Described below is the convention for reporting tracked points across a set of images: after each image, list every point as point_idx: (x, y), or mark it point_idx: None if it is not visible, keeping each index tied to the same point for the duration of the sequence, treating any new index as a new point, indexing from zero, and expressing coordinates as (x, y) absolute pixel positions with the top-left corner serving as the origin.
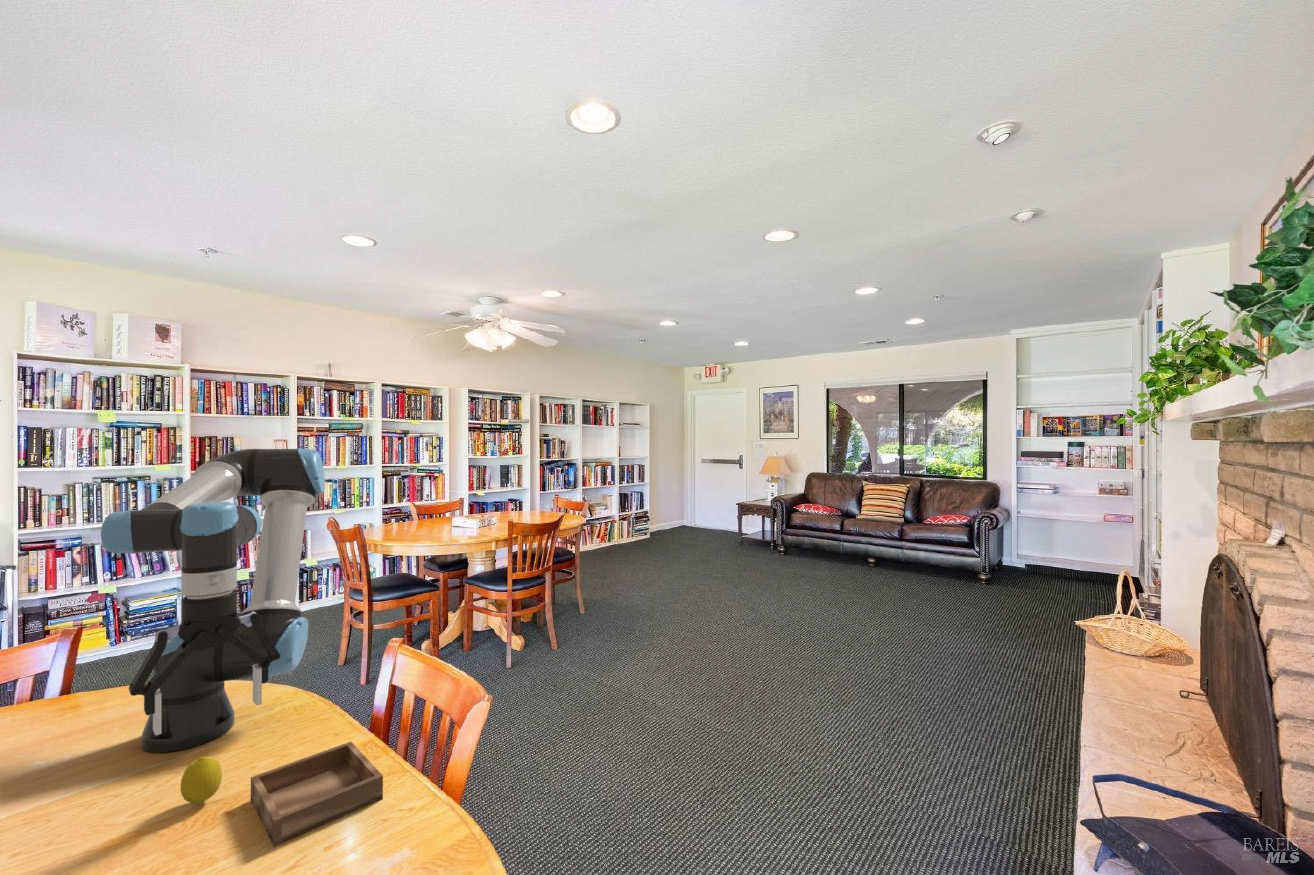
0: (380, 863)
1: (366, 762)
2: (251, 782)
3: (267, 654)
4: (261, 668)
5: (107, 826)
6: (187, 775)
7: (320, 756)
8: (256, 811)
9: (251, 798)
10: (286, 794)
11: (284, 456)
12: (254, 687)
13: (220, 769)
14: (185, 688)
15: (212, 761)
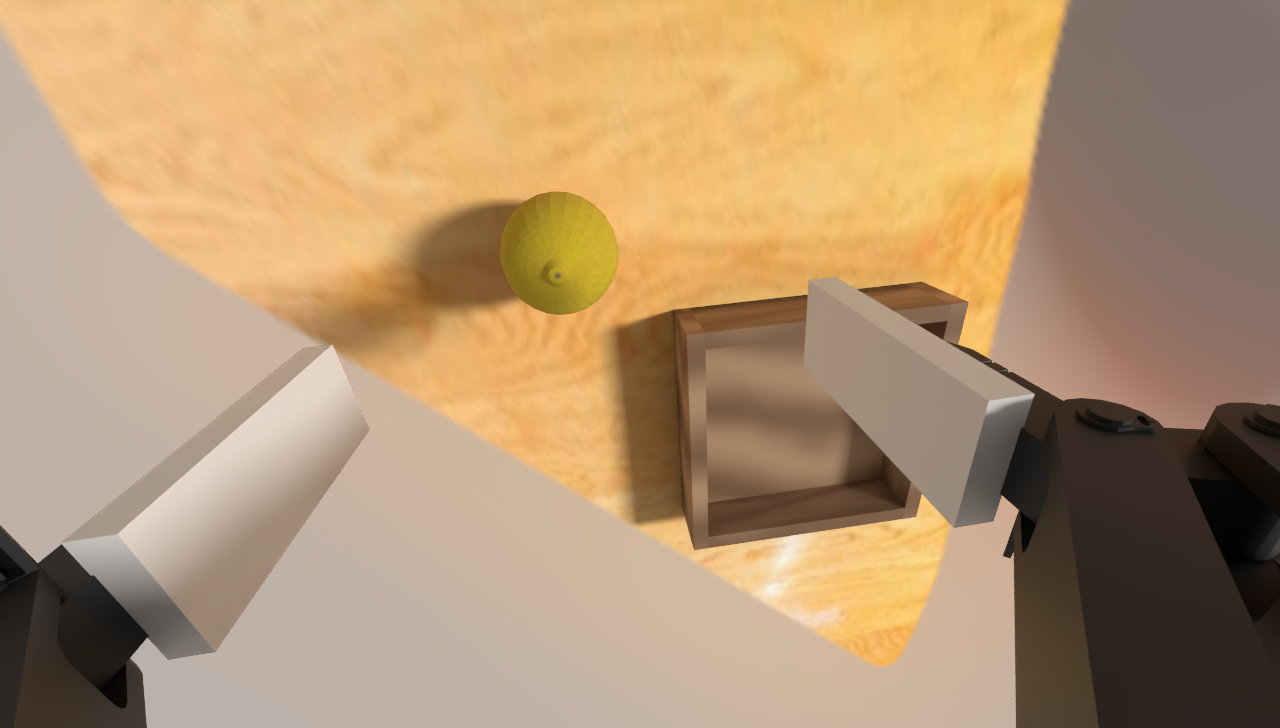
0: (795, 618)
1: None
2: (684, 339)
3: (1206, 492)
4: (988, 517)
5: (323, 183)
6: (516, 292)
7: None
8: (676, 374)
9: (675, 323)
10: (745, 366)
11: None
12: (856, 362)
13: (614, 273)
14: None
15: (591, 287)
